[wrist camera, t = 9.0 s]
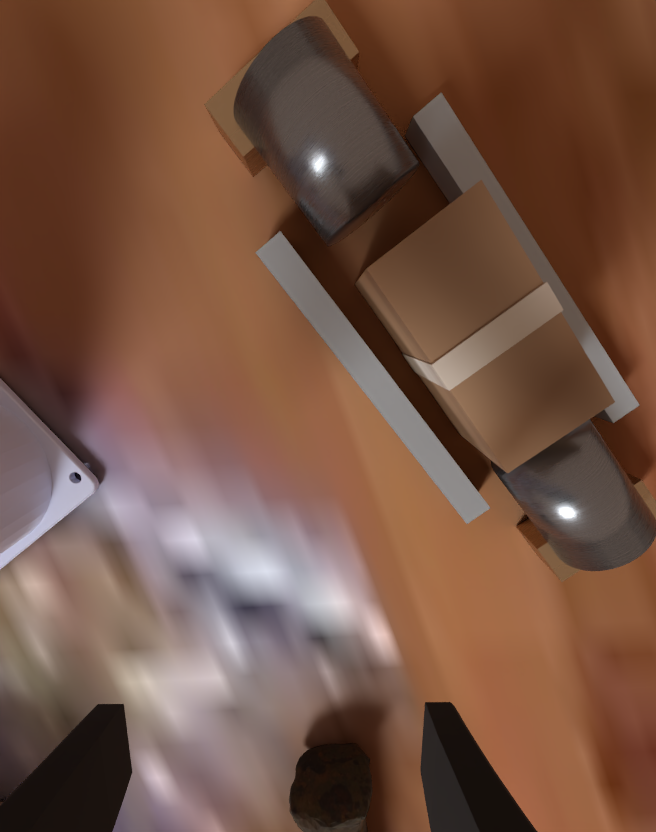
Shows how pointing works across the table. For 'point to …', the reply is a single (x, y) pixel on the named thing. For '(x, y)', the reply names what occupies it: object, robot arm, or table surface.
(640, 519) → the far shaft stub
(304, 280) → the cradle
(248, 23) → the table surface
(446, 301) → the block
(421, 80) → the table surface
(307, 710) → the table surface
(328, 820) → the dark brown rough bar
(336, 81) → the near shaft stub
